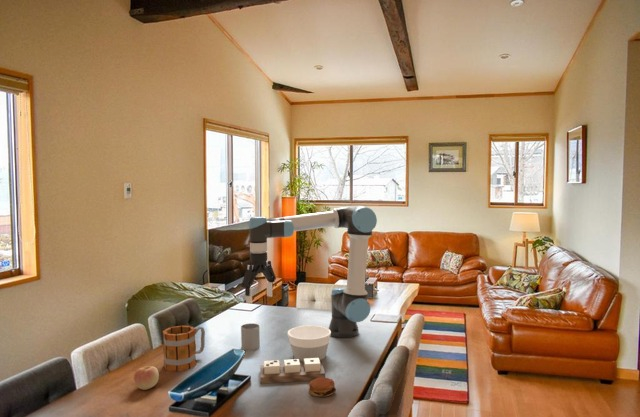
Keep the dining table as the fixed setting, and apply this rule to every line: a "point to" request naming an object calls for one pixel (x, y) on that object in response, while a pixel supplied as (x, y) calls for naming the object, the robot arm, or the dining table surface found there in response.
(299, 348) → the bowl
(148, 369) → the peach
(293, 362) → the tile two
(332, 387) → the burger
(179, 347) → the mug
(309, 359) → the tile one
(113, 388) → the dining table surface
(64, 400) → the dining table surface
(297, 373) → the board
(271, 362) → the tile three
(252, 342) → the cup
